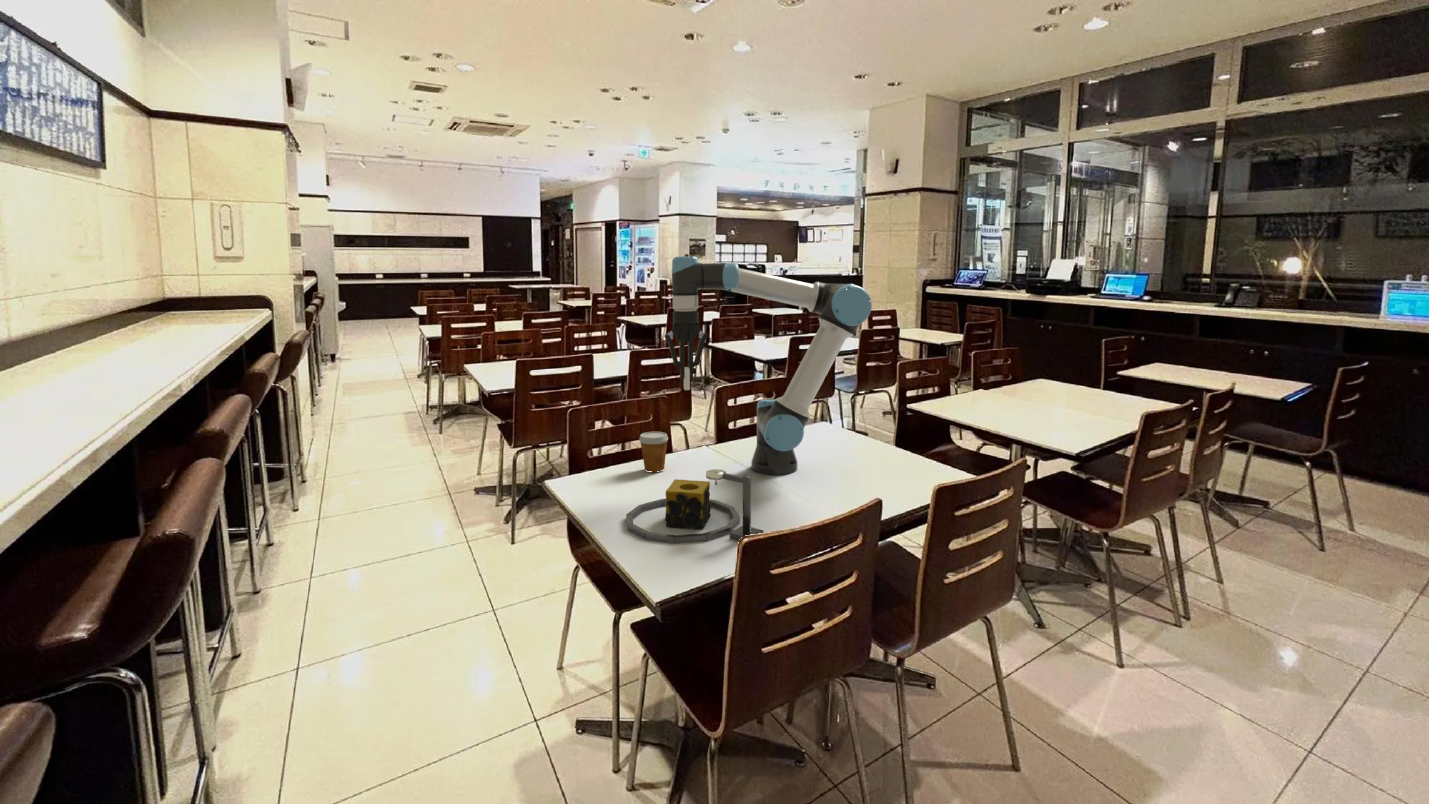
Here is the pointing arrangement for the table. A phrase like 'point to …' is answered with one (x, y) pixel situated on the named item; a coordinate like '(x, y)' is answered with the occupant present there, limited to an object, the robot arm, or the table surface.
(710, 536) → the ring
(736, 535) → the dial indicator stand
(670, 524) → the yellow and black cube
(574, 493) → the table surface
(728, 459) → the table surface
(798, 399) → the robot arm
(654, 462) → the disposable coffee cup
